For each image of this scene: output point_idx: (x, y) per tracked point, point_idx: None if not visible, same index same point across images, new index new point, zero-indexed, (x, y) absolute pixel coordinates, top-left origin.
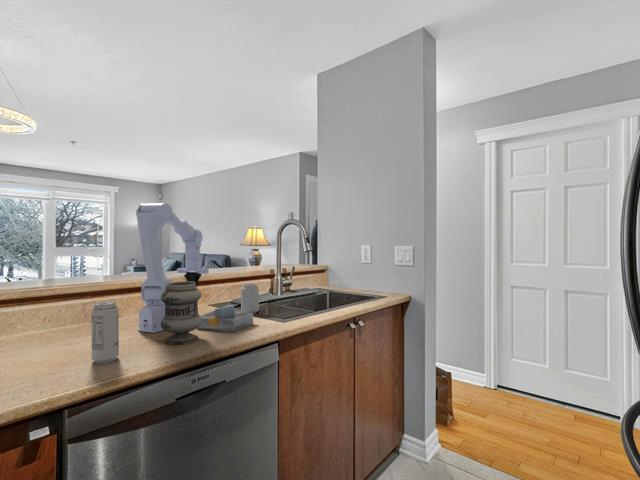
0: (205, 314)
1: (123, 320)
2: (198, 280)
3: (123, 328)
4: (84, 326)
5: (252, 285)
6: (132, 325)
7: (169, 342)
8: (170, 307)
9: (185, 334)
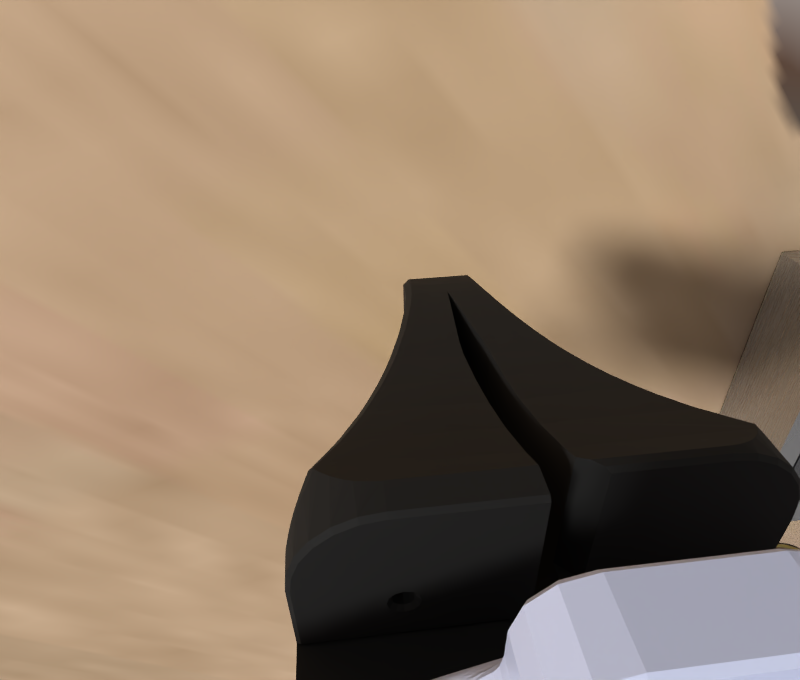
0: (795, 460)
1: (25, 537)
2: (598, 377)
3: (268, 610)
4: (3, 668)
5: None
6: (246, 568)
7: None
8: None
9: None
